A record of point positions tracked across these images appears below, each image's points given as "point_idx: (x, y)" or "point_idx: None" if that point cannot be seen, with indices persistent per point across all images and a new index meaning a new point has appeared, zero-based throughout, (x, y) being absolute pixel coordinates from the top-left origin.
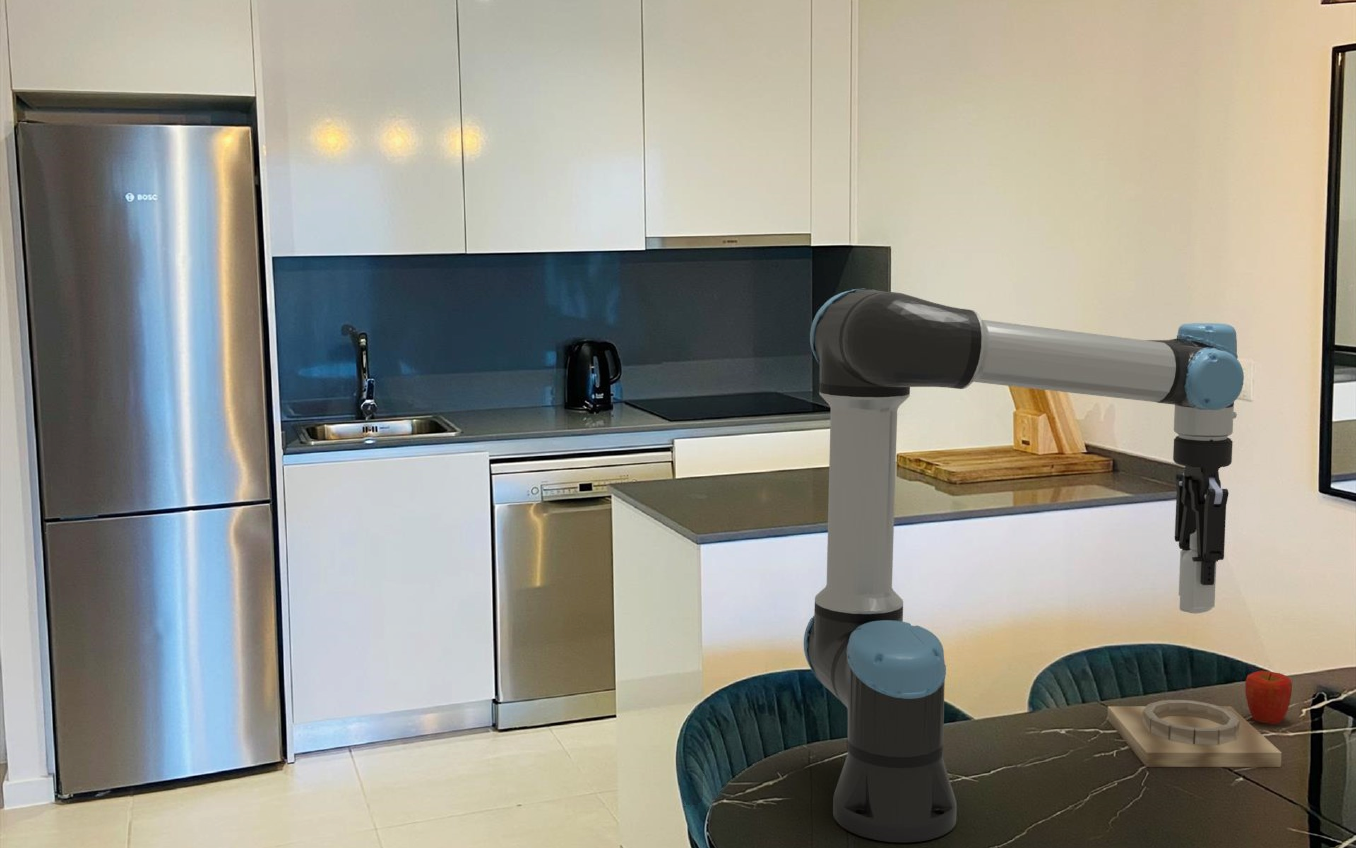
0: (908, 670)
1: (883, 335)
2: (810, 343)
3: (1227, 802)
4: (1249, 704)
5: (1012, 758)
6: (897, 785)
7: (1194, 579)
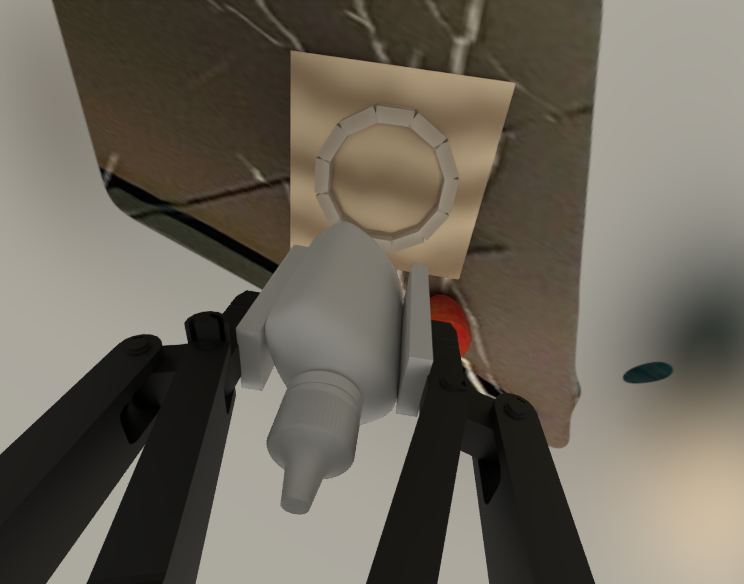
0: None
1: None
2: None
3: (179, 117)
4: (441, 299)
5: None
6: None
7: (276, 287)
